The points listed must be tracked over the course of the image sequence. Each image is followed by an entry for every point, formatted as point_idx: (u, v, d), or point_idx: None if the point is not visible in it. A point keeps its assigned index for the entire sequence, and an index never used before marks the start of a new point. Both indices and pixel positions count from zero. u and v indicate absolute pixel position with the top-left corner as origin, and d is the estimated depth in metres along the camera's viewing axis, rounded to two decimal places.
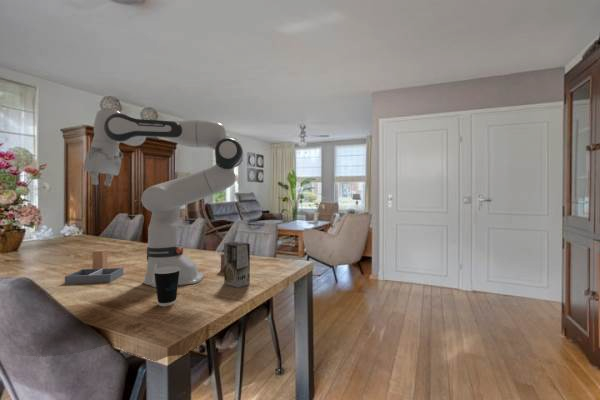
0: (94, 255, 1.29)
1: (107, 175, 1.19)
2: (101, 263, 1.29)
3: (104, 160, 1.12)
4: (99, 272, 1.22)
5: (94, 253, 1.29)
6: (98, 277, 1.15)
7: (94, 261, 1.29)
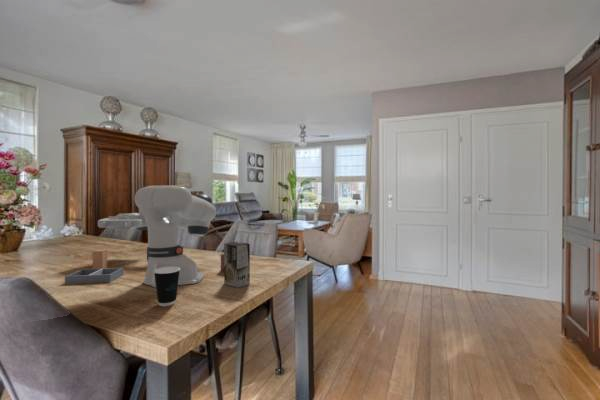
0: (94, 255, 1.29)
1: (106, 223, 1.47)
2: (101, 263, 1.29)
3: None
4: (99, 272, 1.22)
5: (94, 253, 1.29)
6: (98, 277, 1.15)
7: (94, 261, 1.29)
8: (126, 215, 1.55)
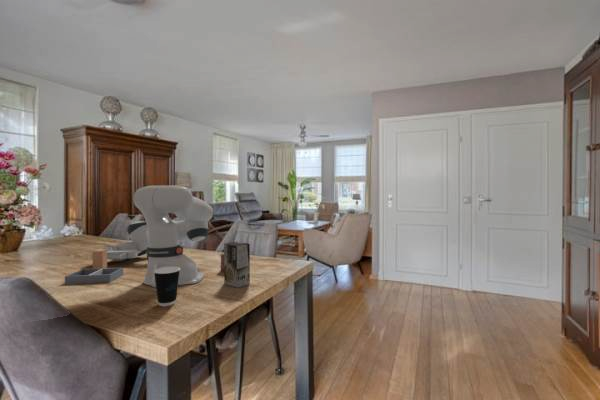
0: (94, 255, 1.29)
1: None
2: (101, 263, 1.29)
3: None
4: (99, 272, 1.22)
5: (94, 253, 1.29)
6: (98, 277, 1.15)
7: (94, 261, 1.29)
8: (121, 245, 1.51)
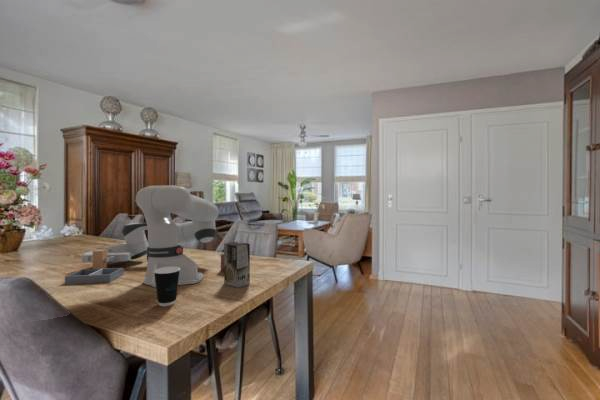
0: (94, 255, 1.29)
1: None
2: (101, 263, 1.29)
3: None
4: (99, 272, 1.22)
5: (94, 253, 1.29)
6: (98, 277, 1.15)
7: (94, 261, 1.29)
8: (113, 247, 1.42)
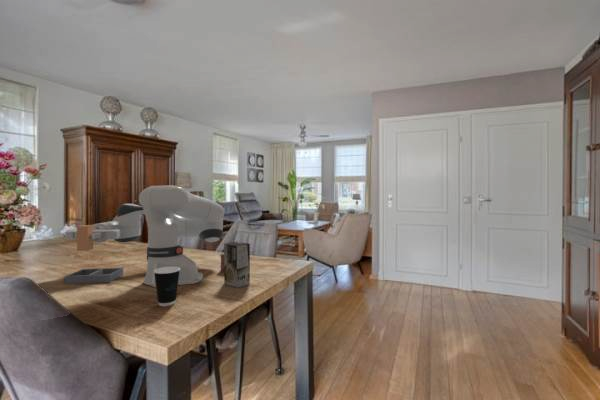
0: (78, 230, 1.17)
1: None
2: (86, 239, 1.18)
3: None
4: (99, 272, 1.22)
5: (78, 228, 1.17)
6: (98, 277, 1.15)
7: (78, 237, 1.17)
8: (101, 224, 1.31)
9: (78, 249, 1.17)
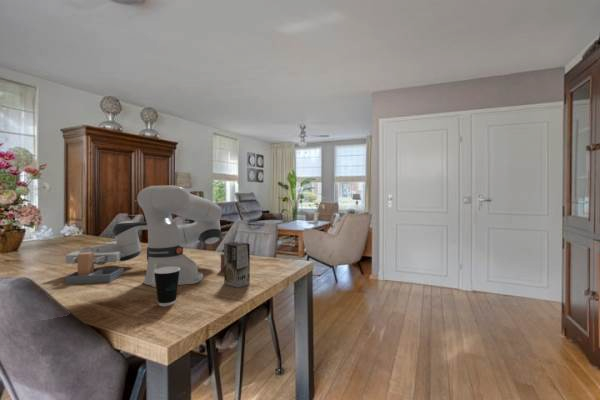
0: (79, 258, 1.17)
1: None
2: (87, 267, 1.18)
3: None
4: (99, 272, 1.22)
5: (79, 256, 1.17)
6: (98, 277, 1.15)
7: (79, 265, 1.17)
8: (101, 247, 1.31)
9: None
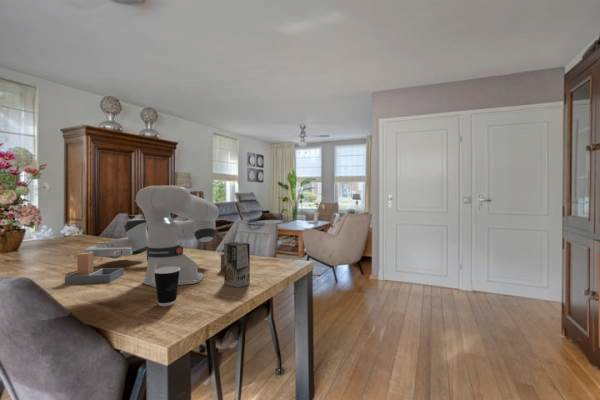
0: (79, 259, 1.17)
1: (93, 252, 1.35)
2: (87, 267, 1.18)
3: None
4: (99, 272, 1.22)
5: (79, 256, 1.17)
6: (98, 277, 1.15)
7: (79, 265, 1.17)
8: (115, 242, 1.44)
9: None
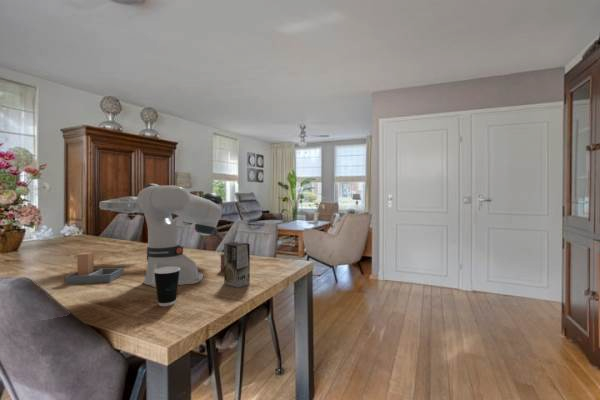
0: (79, 259, 1.17)
1: (108, 204, 1.42)
2: (87, 267, 1.18)
3: None
4: (99, 272, 1.22)
5: (79, 256, 1.17)
6: (98, 277, 1.15)
7: (79, 265, 1.17)
8: (128, 197, 1.51)
9: None
